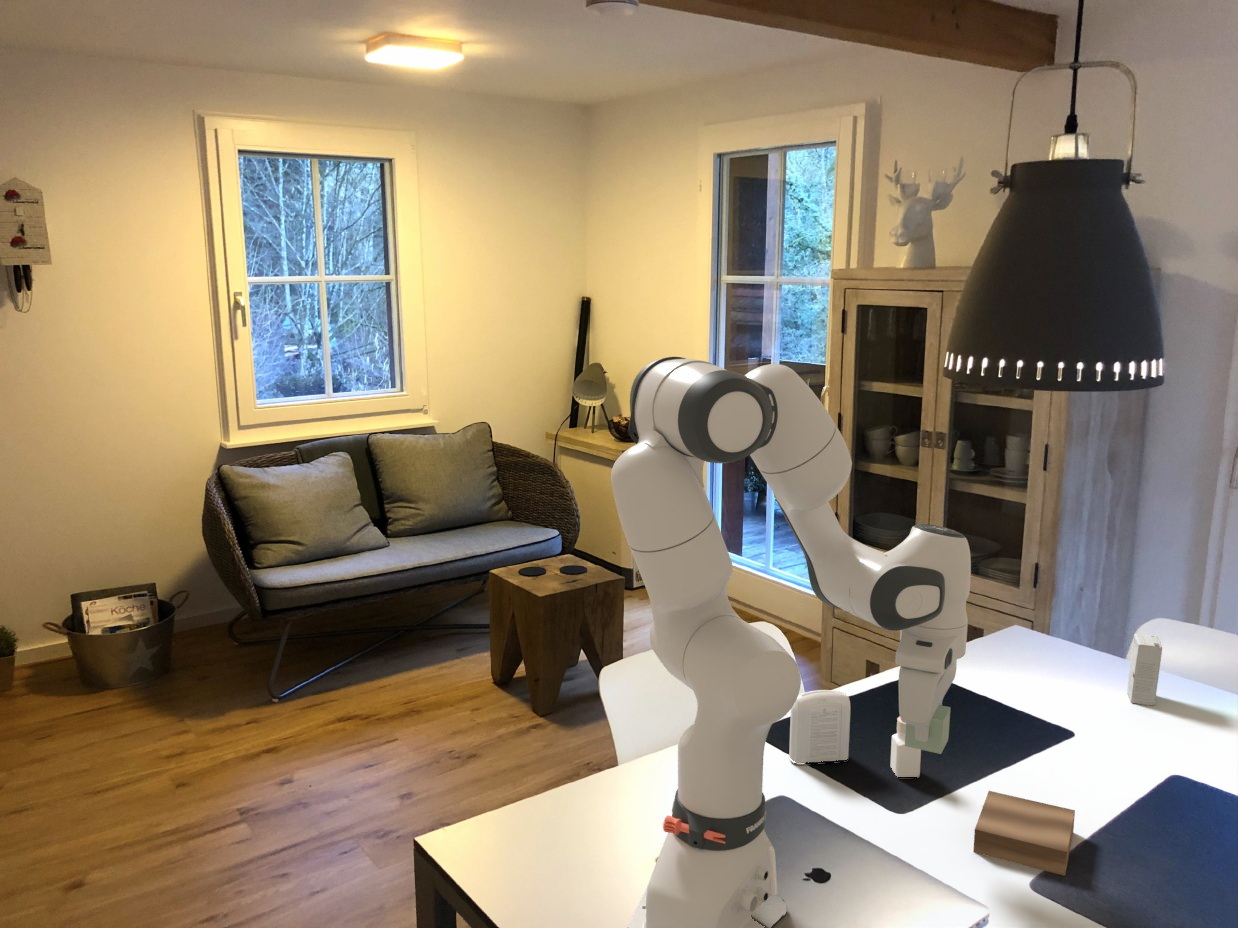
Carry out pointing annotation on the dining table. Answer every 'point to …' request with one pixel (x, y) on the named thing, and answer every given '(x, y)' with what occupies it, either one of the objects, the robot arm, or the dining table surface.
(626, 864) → the dining table surface
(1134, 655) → the skincare box
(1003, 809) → the walnut block
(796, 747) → the white rounded block
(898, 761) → the salt shaker
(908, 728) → the green cube
